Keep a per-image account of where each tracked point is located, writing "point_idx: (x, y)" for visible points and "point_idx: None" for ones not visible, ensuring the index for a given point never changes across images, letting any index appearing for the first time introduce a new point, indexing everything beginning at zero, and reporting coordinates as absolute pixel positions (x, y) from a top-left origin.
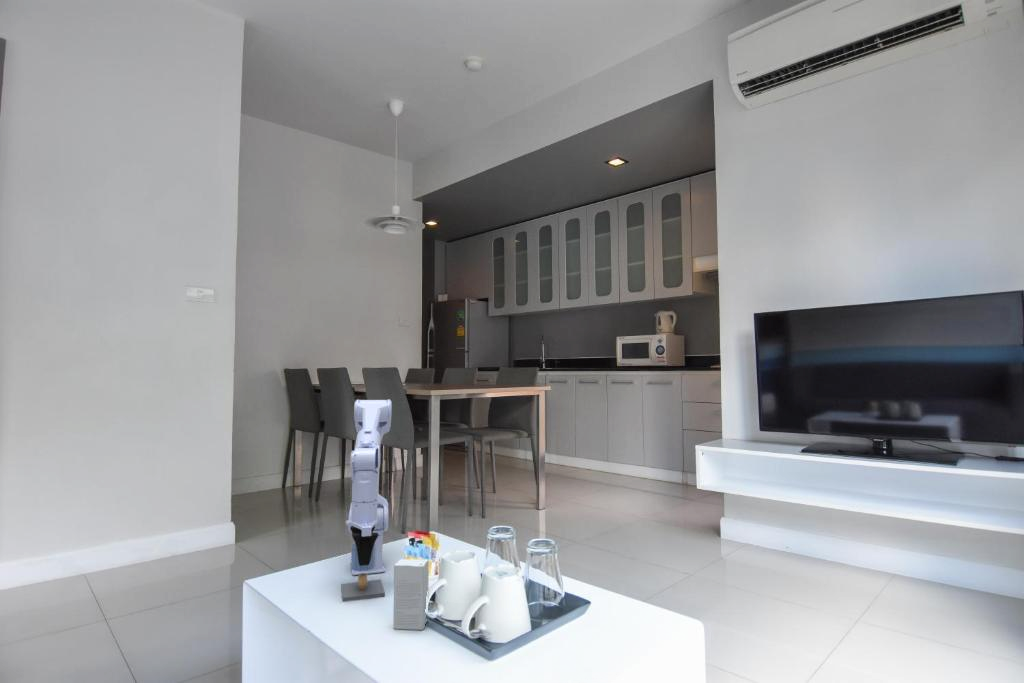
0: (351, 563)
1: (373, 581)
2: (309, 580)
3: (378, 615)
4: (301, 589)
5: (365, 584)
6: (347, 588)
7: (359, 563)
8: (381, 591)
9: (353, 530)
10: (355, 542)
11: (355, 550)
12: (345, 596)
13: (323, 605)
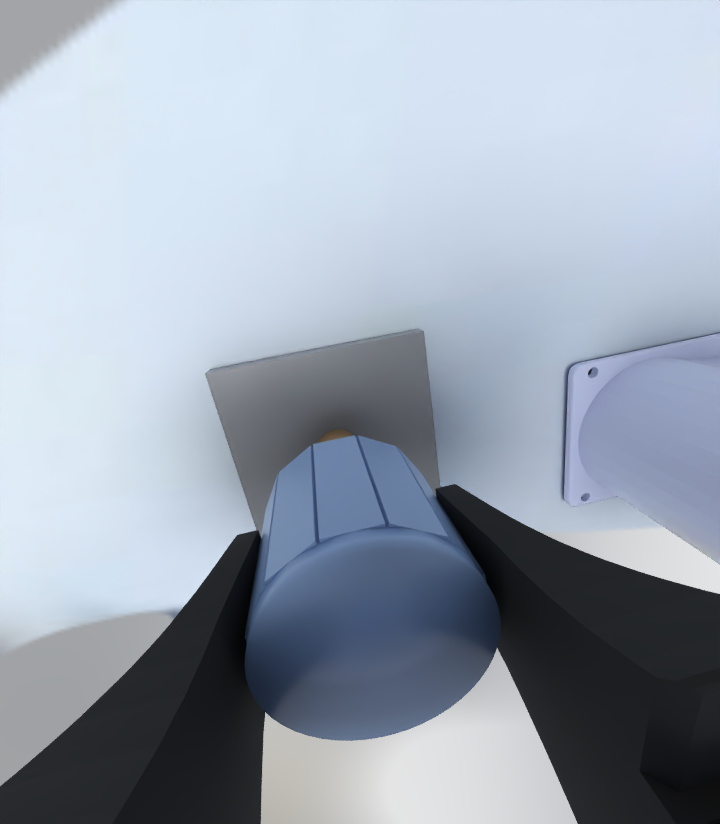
0: (323, 461)
1: None
2: (587, 111)
3: (35, 549)
4: (442, 78)
5: None
6: (346, 377)
7: (230, 546)
8: None
9: (627, 691)
10: (11, 781)
11: (267, 582)
12: (225, 385)
13: (158, 272)
